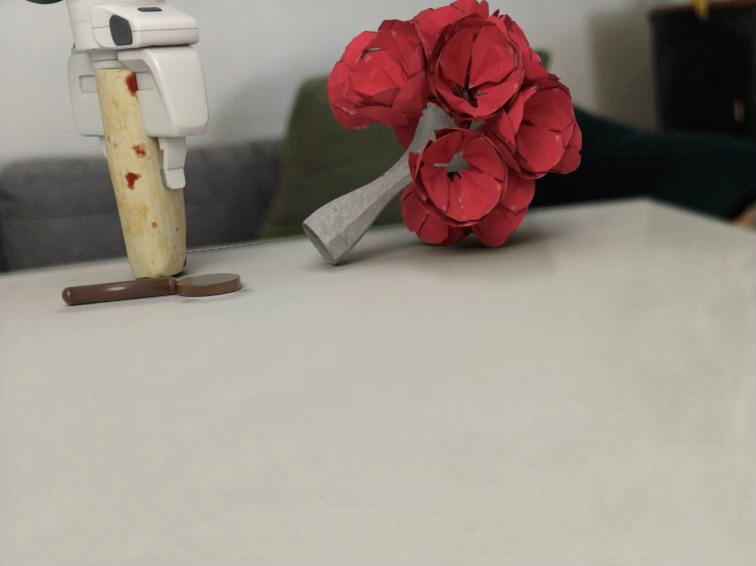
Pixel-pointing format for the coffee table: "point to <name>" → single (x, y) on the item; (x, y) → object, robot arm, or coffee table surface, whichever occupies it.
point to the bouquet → (449, 127)
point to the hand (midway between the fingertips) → (150, 186)
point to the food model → (140, 181)
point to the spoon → (152, 288)
